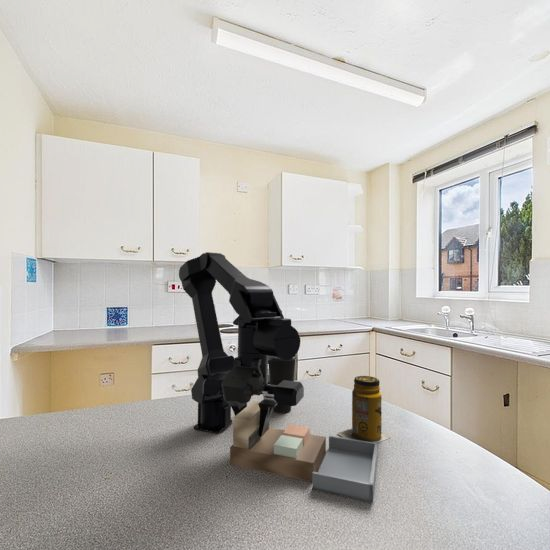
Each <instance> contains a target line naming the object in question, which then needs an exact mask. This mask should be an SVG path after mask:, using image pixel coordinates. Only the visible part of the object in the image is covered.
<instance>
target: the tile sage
mask: <svg viewBox="0 0 550 550" xmlns="http://www.w3.org/2000/svg"><path fill="white" fill-rule="evenodd" d="M302 448H303V439H302V438H296V437H290V436H284V435H281V436H280V438H279V439H278V440H277V441H276V443H275V444H274V454H277V455H282V456H288V457H293V458H297V456H298V455H299V453H300V451H301V449H302Z"/></svg>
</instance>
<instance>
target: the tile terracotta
mask: <svg viewBox="0 0 550 550" xmlns="http://www.w3.org/2000/svg"><path fill="white" fill-rule="evenodd" d="M310 429H311V427H310V426H302V425H296V424H290V423H289V425H288V426H287V428H285V429H284V430H285V431H284V432H283V435H284V436H290V437H296V438H302V439H303V445H304V444H305V443H306V441H307V439H308V437H309V436H310V433H311V431H310Z"/></svg>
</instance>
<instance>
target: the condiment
mask: <svg viewBox="0 0 550 550" xmlns="http://www.w3.org/2000/svg"><path fill="white" fill-rule="evenodd" d="M353 383H354V384H353V389H352V390H351V391H352V392H351V393H352V394H351V397H352V398H351V428H350V429H348V428H347V429H346V430H345V429H344V430H343V431H338V432H336V434H338V435H339V437H342V438H348V439H355V440H361V441H367V442H373V443H378V444H379V443H380V442H383V441H386V440H389V439H391V437H390V436H389V435H386V434H385V433H382V430H383V429H382V428H383V427H382V414H383V412H382V399H383V398H382V392H381V391H380V390H381V387H380V383H381V382H380V380H379V379H378V378H376V377H374V376H370V375H359V376H355V377H354V380H353Z"/></svg>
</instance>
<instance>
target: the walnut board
mask: <svg viewBox="0 0 550 550" xmlns="http://www.w3.org/2000/svg"><path fill="white" fill-rule="evenodd" d="M285 430H286V429H281V428H280V429H278V428H274V427H269V429H268V430H267V432H266V433H265V434H264V435H263V436H262V437H261V438H260V439H259V441H258V442H257V443H256V444H255V445H254V446H253V447H252V448H251V449H246V448H240V447H235V446H233V444H232V445H230V447H229V450H230V451H229V465H232V466H236V467H241V468H245V469H251V470H255V471H260V472H264V473H269V474H274V475H277V476H283V477H288V478H292V479H297V480H301V481H307V482H311V483H312V473H313V472H319V470H320V467H321V465H322V463H323V460H324V458H325V456H326V453H327V449H326V448H327V446H326V445H327V442H326V441H327V436H323V435H317V434H316V435H315V434H310V436H309V437H308V439H307V441H306V443H305V444H304V445H303V448H302V449H301V451H300V453H299V455H298V456H297V458H293V457H288V456H282V455H277V454H274V444H275V443H276V441H277V440H278V439H279V438H280V436H281V435H283V432H284V431H285Z"/></svg>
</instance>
